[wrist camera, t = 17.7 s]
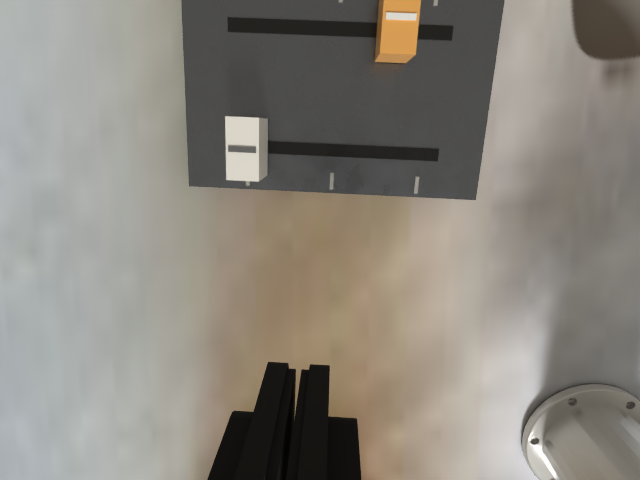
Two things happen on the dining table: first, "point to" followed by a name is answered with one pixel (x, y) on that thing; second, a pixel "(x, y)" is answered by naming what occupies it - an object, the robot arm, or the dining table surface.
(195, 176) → the console
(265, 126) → the cream fader
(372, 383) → the dining table surface
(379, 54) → the orange fader
